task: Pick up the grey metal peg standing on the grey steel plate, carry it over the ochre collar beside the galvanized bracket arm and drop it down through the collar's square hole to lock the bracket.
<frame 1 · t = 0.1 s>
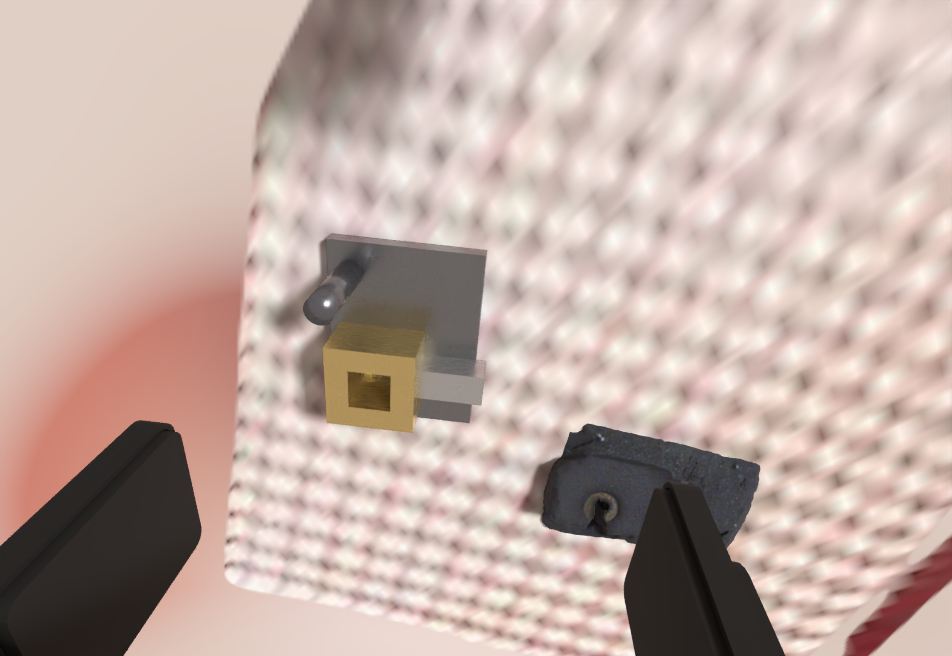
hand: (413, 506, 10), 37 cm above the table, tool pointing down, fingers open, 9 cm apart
dark slate chunk: (643, 488, 58), on the table
square hole fixture: (406, 330, 50), on the table
grey metal peg: (349, 273, 46), point 1 cm above the table, touching square hole fixture
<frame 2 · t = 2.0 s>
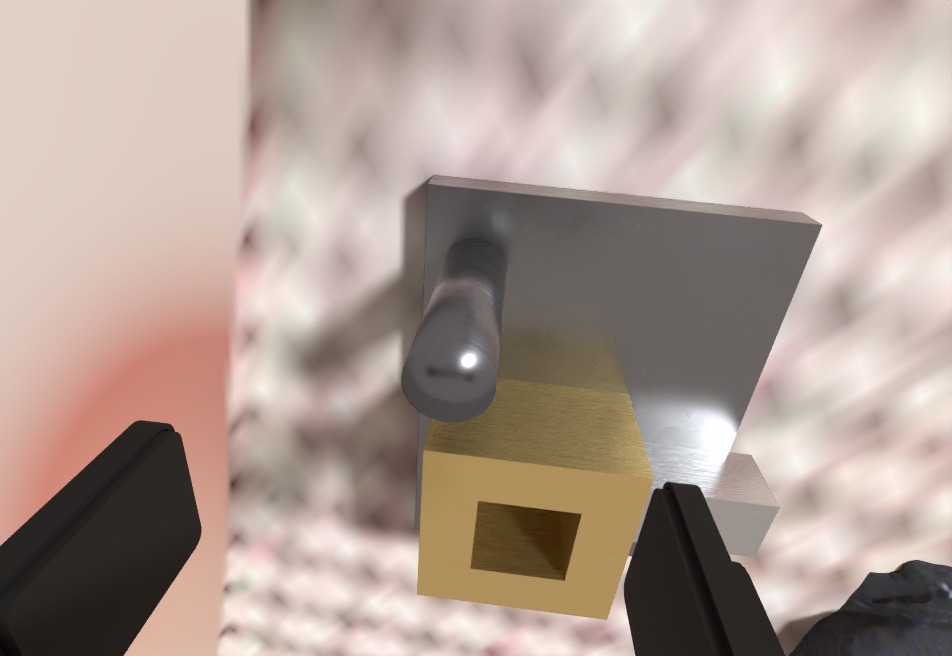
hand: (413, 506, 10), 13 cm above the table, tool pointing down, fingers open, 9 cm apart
square hole fixture: (575, 387, 24), on the table
grey metal peg: (475, 267, 20), point 1 cm above the table, touching square hole fixture
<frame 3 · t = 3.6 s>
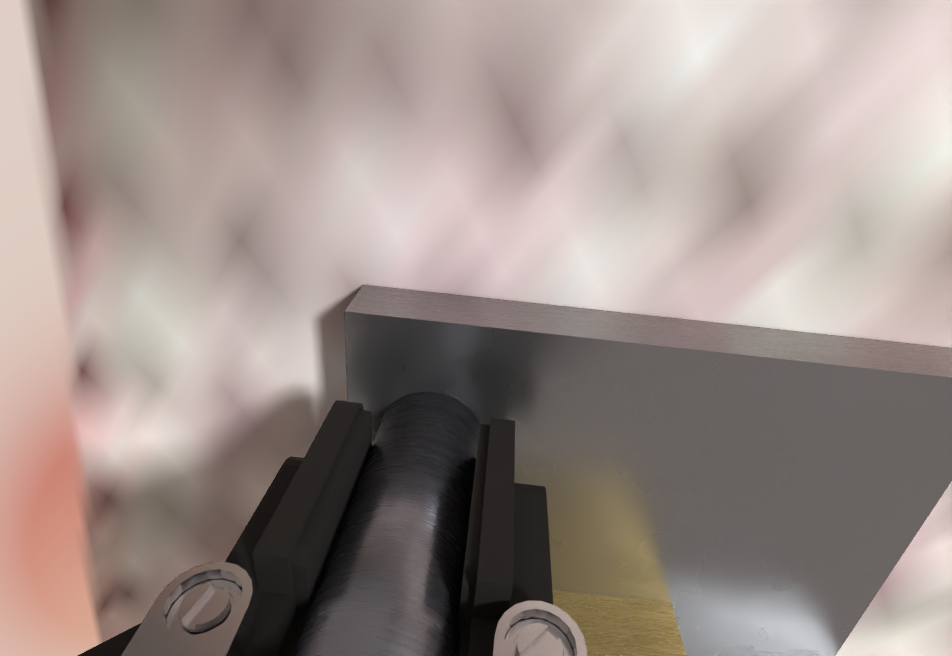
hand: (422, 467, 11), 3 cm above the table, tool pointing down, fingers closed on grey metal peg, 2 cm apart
square hole fixture: (587, 573, 16), on the table
grey metal peg: (431, 433, 12), point 1 cm above the table, touching gripper, square hole fixture
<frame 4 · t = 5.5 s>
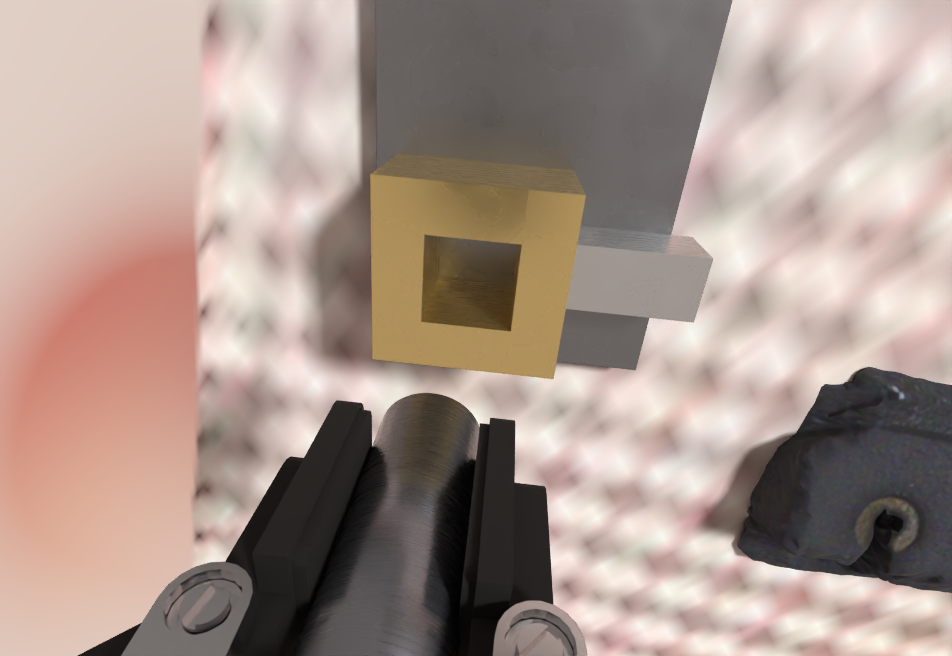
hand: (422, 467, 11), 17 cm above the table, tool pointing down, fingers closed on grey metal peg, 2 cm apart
dark slate chunk: (930, 489, 33), on the table
square hole fixture: (526, 181, 25), on the table
grey metal peg: (430, 435, 12), point 16 cm above the table, touching gripper
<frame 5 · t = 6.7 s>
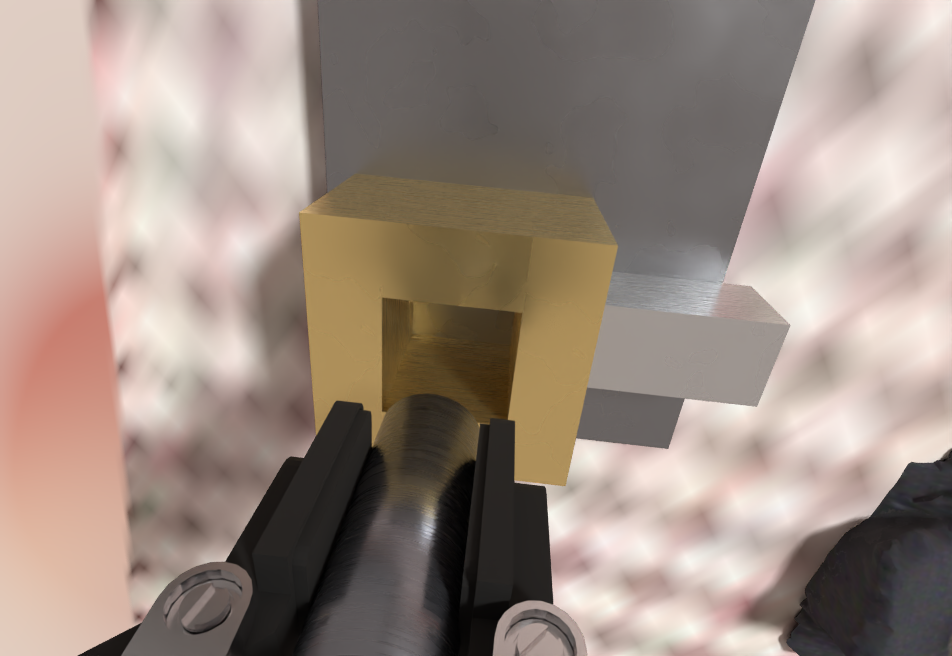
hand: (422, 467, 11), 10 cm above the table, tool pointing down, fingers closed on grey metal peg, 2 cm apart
square hole fixture: (528, 209, 19), on the table
grey metal peg: (430, 435, 12), point 9 cm above the table, touching gripper
when the fingers open (7 cm above the table, at t = 7.5 s): grey metal peg drops 4 cm, resting on square hole fixture.
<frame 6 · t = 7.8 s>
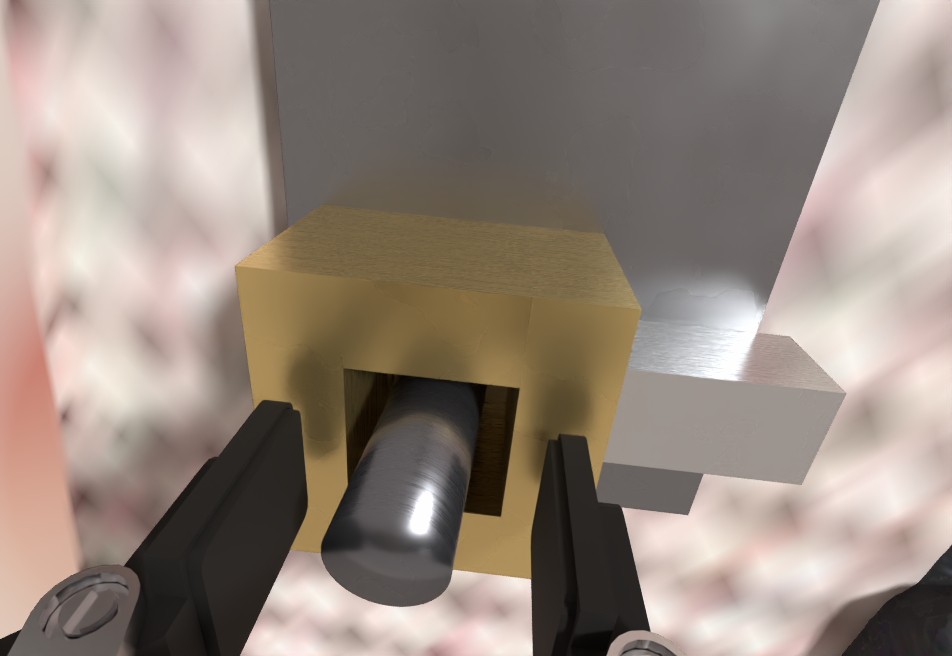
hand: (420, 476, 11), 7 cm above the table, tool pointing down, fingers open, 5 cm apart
square hole fixture: (527, 244, 16), on the table
grey metal peg: (456, 344, 16), point 2 cm above the table, touching square hole fixture
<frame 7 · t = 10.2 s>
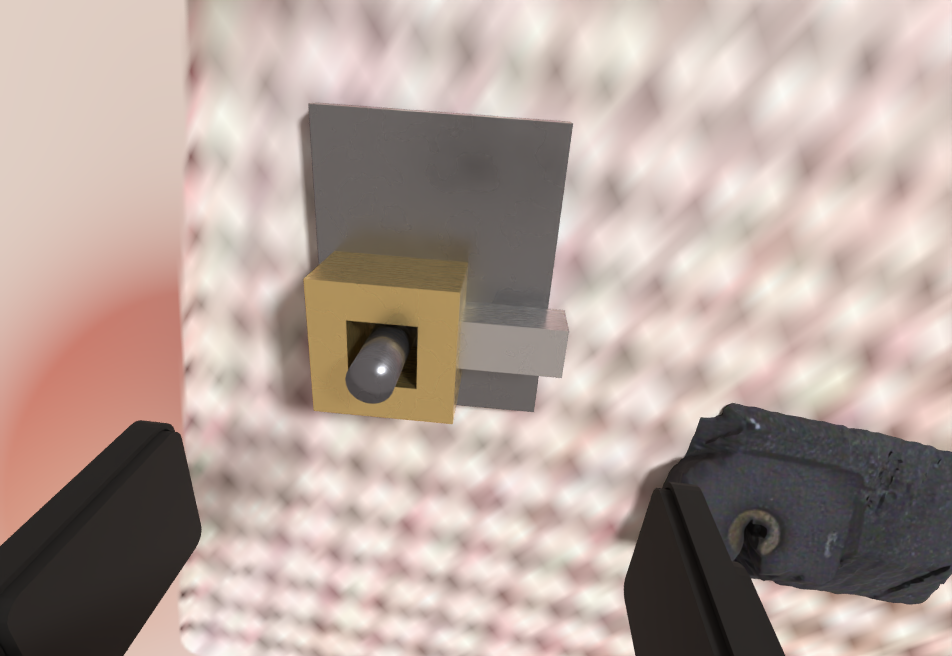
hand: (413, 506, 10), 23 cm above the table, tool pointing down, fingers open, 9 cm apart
dark slate chunk: (802, 502, 39), on the table
square hole fixture: (437, 267, 33), on the table
grey metal peg: (402, 317, 32), point 2 cm above the table, touching square hole fixture
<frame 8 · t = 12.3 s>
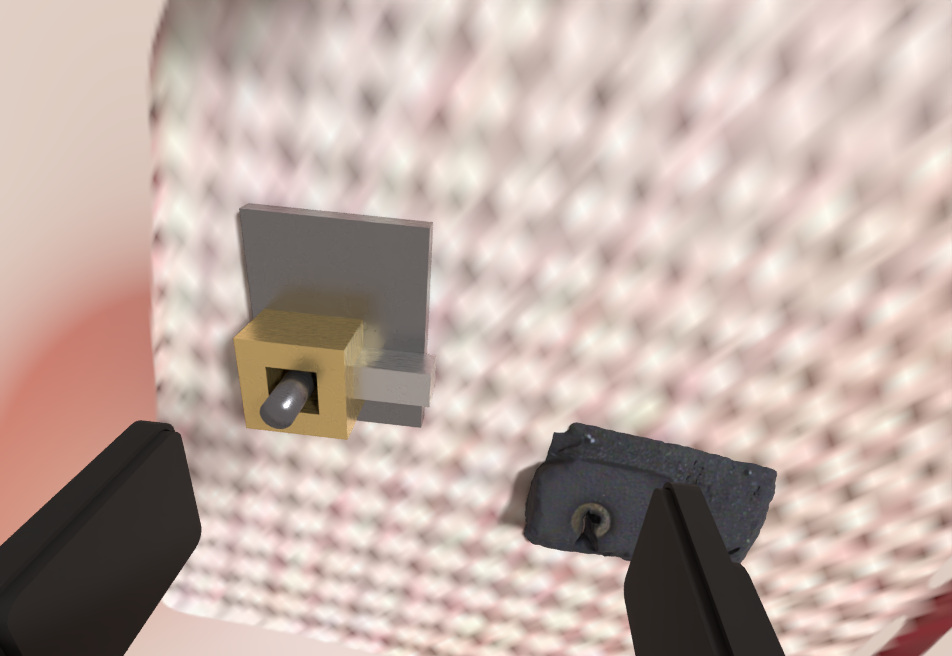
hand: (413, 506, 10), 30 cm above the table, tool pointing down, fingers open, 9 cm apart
dark slate chunk: (640, 497, 50), on the table
square hole fixture: (344, 320, 43), on the table
grey metal peg: (317, 357, 43), point 2 cm above the table, touching square hole fixture
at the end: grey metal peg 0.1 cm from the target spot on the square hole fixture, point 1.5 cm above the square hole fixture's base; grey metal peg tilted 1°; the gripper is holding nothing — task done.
